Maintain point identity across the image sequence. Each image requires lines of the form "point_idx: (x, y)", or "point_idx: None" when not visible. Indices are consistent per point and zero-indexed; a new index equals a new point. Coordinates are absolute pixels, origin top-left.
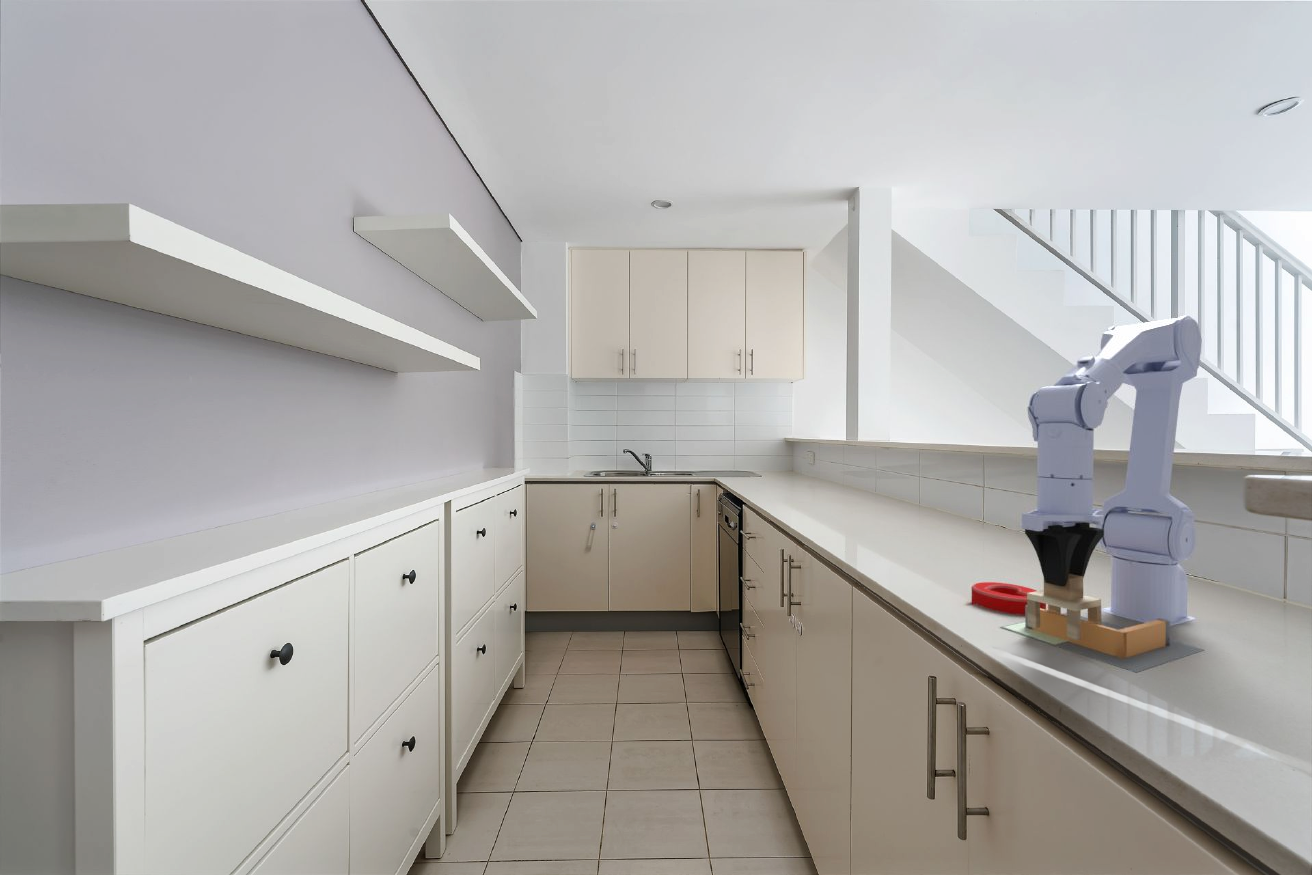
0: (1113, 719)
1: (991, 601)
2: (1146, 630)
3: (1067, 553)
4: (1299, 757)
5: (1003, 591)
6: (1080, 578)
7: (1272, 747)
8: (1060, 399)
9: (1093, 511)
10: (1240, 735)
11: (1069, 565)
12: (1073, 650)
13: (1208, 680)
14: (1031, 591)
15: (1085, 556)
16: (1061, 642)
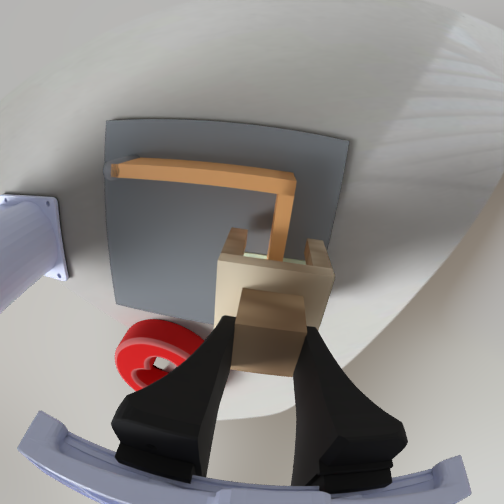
0: (496, 144)
1: None
2: (195, 167)
3: (354, 391)
4: (433, 3)
5: (145, 378)
6: (250, 322)
7: (433, 18)
8: None
9: (83, 488)
10: (433, 37)
11: (314, 361)
12: (324, 235)
13: (246, 71)
14: (130, 358)
15: (220, 365)
16: (300, 260)
